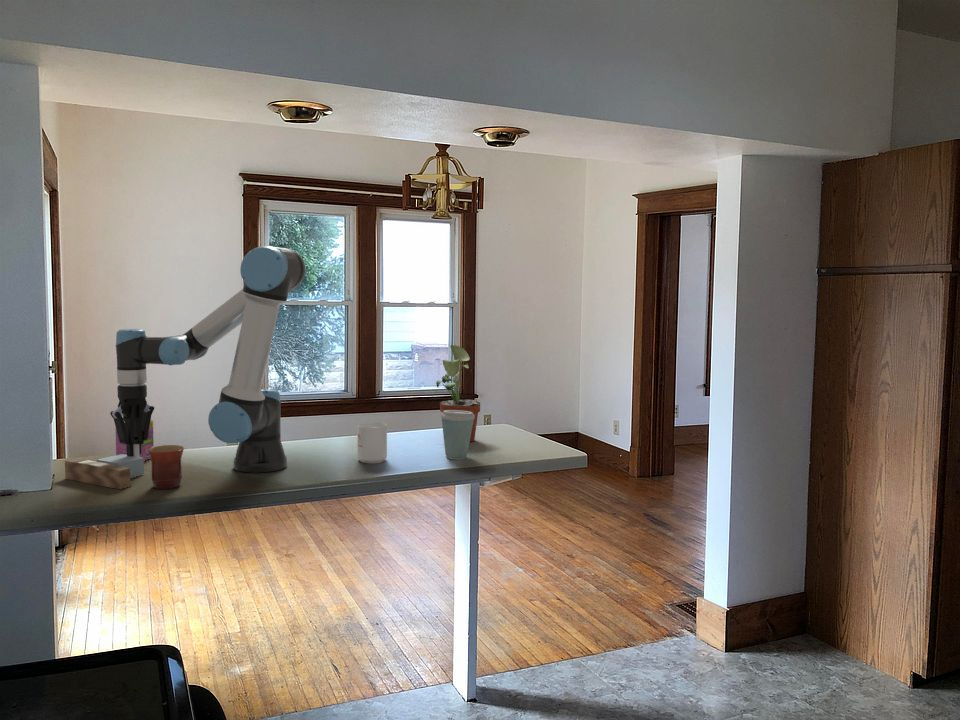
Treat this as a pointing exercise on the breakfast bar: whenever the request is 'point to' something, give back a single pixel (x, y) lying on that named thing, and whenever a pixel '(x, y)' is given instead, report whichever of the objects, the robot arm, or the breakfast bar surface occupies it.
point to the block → (126, 463)
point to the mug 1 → (166, 466)
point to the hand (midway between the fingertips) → (134, 466)
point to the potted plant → (457, 404)
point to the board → (97, 473)
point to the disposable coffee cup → (457, 432)
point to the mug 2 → (372, 442)
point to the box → (144, 447)
